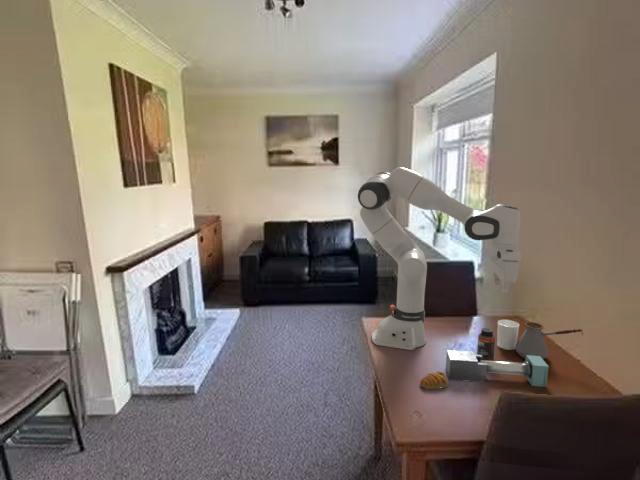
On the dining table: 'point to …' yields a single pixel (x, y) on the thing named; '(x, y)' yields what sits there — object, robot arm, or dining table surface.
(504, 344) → the white cup
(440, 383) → the pastry
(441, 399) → the dining table surface
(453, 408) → the dining table surface
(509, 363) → the tube
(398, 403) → the dining table surface
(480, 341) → the supplement bottle
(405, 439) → the dining table surface
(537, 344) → the coffee pot
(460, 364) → the sleeve
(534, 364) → the socket
